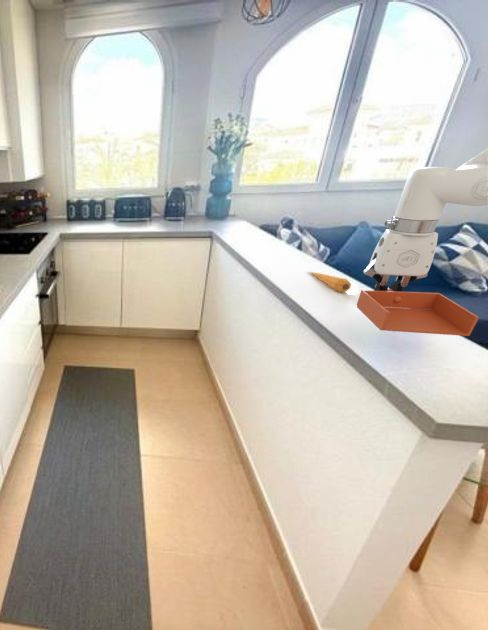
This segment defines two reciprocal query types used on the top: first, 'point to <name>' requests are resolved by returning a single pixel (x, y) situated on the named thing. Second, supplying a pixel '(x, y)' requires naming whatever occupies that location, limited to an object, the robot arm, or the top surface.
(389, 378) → the top surface
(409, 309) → the dustpan
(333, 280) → the carrot
